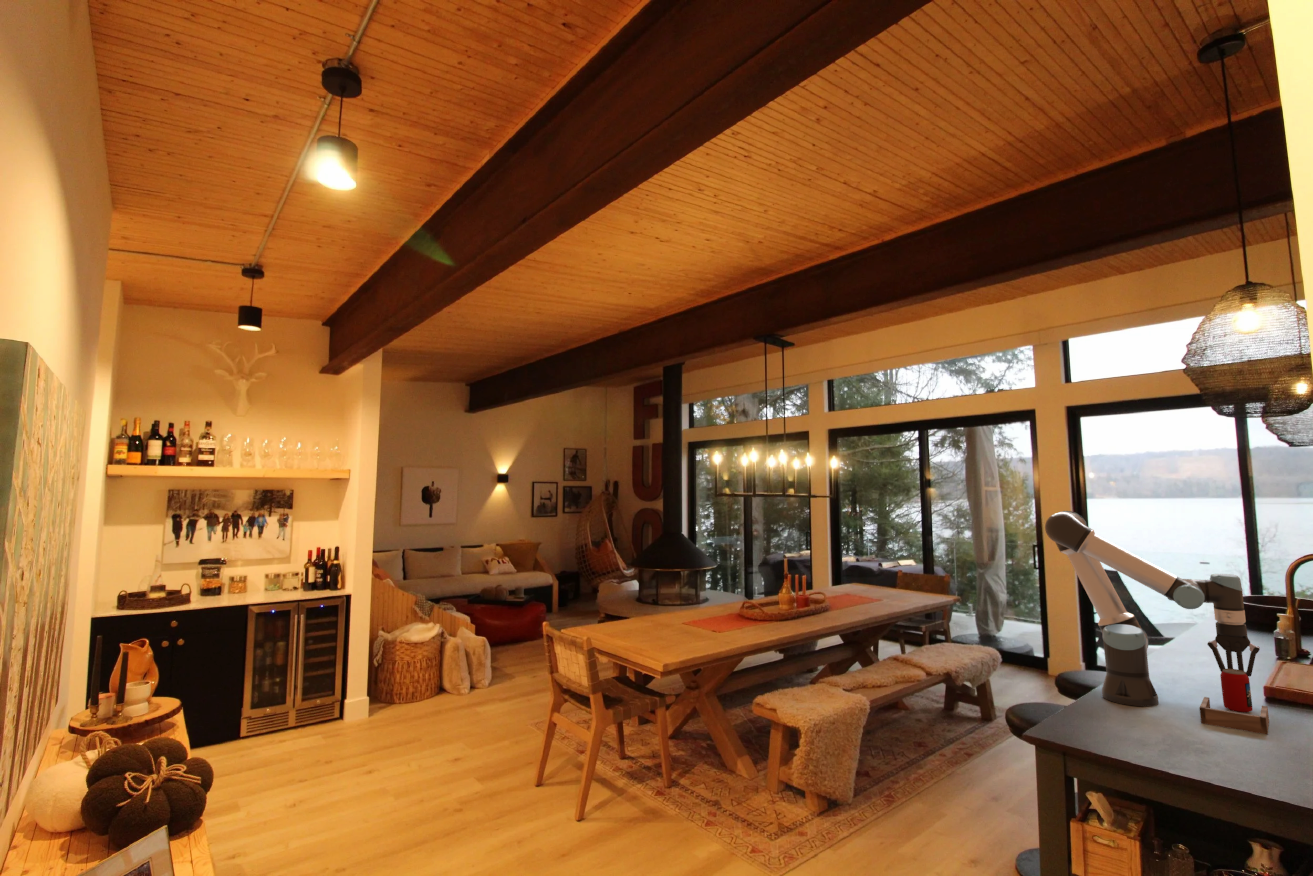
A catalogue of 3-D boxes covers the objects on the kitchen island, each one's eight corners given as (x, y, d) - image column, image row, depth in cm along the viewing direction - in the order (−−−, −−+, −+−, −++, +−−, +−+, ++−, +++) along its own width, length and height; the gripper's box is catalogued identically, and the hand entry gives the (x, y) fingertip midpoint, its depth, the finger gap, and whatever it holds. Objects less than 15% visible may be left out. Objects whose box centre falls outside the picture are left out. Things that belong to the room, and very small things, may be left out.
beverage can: (1258, 714, 196) (1254, 674, 197) (1233, 713, 198) (1228, 673, 199) (1243, 707, 203) (1238, 668, 204) (1218, 706, 204) (1214, 667, 205)
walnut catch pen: (1267, 734, 181) (1265, 718, 181) (1201, 723, 191) (1199, 707, 191) (1269, 722, 190) (1267, 706, 190) (1205, 711, 200) (1204, 696, 200)
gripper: (1203, 622, 211) (1211, 696, 209) (1257, 626, 202) (1266, 704, 200) (1205, 618, 216) (1213, 690, 214) (1258, 622, 207) (1267, 698, 205)
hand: (1238, 697), depth 207 cm, fingers closed
